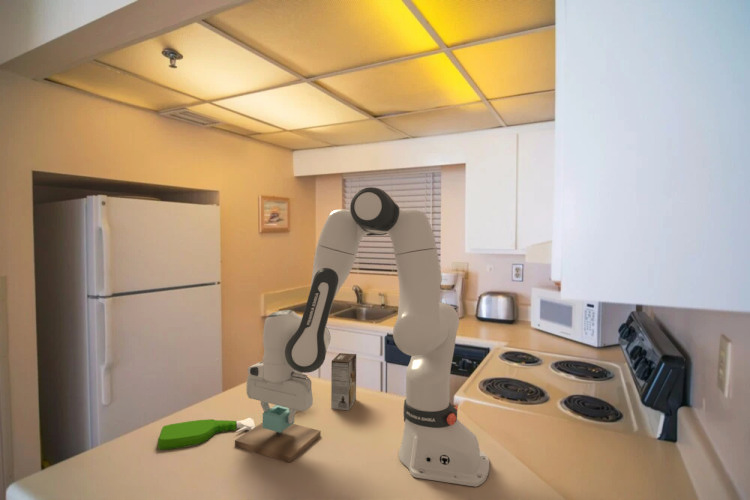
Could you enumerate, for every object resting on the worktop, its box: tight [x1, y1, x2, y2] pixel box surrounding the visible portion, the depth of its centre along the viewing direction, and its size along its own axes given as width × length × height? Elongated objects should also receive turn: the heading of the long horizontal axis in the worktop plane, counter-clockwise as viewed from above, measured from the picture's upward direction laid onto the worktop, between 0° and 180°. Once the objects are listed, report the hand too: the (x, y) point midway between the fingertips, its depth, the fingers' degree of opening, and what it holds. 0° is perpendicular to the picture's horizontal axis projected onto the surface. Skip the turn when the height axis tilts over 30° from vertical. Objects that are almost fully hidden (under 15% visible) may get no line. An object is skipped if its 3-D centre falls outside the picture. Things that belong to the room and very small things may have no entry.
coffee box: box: [330, 352, 357, 411], centre depth 124 cm, size 9×6×16 cm
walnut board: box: [234, 421, 322, 464], centre depth 101 cm, size 18×14×2 cm
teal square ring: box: [262, 404, 295, 433], centre depth 101 cm, size 6×6×4 cm
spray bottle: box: [157, 417, 256, 451], centre depth 104 cm, size 3×11×24 cm
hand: (278, 419), depth 101 cm, fingers closed on teal square ring, 6 cm apart
